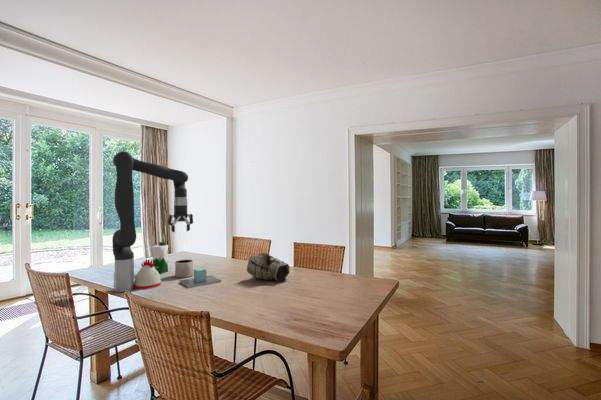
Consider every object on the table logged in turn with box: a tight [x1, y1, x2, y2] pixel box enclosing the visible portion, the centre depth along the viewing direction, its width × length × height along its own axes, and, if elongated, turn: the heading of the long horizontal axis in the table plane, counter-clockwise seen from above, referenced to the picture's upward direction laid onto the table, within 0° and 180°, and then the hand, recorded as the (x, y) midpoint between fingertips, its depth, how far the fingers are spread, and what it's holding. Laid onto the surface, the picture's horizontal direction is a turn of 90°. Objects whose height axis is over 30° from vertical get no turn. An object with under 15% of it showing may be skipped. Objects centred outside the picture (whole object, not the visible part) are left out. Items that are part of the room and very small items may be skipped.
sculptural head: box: [246, 251, 290, 282], centre depth 197 cm, size 17×21×25 cm
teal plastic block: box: [193, 267, 208, 282], centre depth 188 cm, size 6×6×7 cm
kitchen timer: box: [134, 259, 162, 290], centre depth 181 cm, size 14×14×15 cm
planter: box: [174, 259, 194, 279], centre depth 202 cm, size 11×11×10 cm
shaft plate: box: [178, 274, 222, 289], centre depth 188 cm, size 20×14×6 cm
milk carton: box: [151, 241, 169, 275], centre depth 212 cm, size 9×9×20 cm
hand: (180, 231), depth 190 cm, fingers open, 8 cm apart
